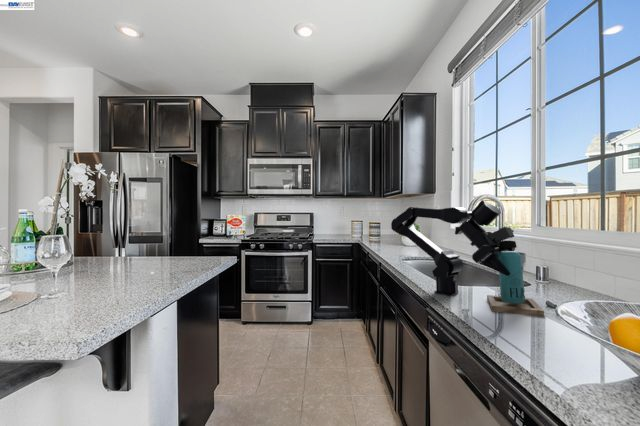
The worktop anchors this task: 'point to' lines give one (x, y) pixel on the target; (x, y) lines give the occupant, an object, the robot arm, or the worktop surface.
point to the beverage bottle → (511, 275)
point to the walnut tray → (515, 306)
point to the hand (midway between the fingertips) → (515, 273)
